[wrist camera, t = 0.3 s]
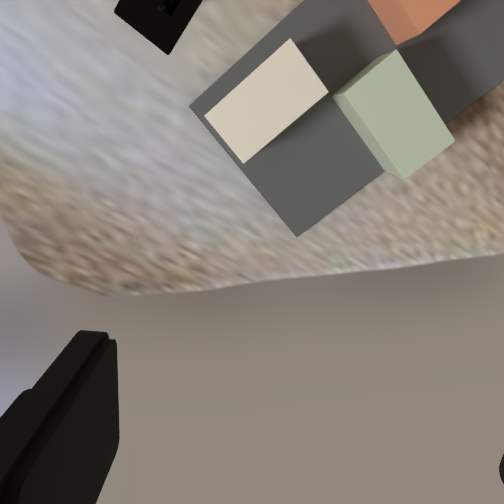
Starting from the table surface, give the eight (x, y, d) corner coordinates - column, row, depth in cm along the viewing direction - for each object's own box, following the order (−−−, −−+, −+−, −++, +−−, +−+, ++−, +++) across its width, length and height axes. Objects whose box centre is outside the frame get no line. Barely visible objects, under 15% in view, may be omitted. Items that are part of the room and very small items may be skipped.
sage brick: (331, 95, 34) (343, 93, 29) (376, 58, 33) (396, 49, 28) (384, 170, 36) (403, 179, 31) (428, 136, 35) (455, 140, 30)
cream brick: (285, 48, 33) (290, 37, 28) (318, 94, 34) (328, 91, 29) (211, 115, 34) (204, 115, 30) (245, 156, 35) (243, 164, 31)
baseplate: (441, -125, 30) (447, -132, 29) (536, 50, 33) (544, 48, 32) (190, 106, 35) (188, 106, 34) (295, 234, 39) (296, 237, 38)
